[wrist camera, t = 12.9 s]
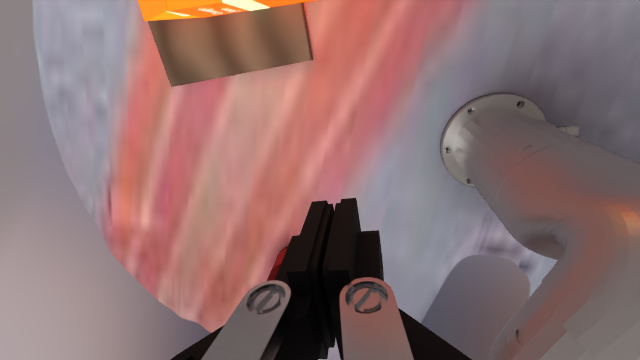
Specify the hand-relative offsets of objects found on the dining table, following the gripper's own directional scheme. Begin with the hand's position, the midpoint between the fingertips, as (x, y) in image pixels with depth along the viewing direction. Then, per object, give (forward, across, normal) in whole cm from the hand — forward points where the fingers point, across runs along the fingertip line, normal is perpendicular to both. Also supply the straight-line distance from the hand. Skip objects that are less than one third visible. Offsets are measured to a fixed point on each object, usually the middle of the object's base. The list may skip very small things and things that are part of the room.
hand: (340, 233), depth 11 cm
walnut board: (+31, +16, -14) cm, 37 cm away
